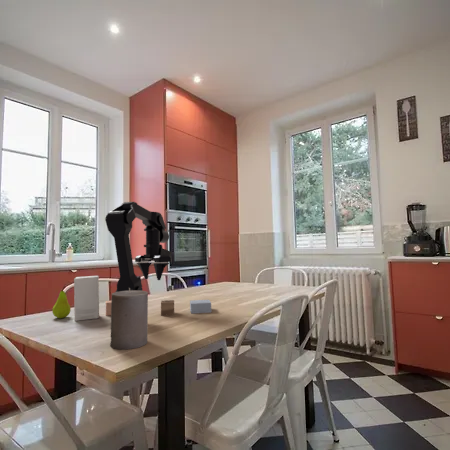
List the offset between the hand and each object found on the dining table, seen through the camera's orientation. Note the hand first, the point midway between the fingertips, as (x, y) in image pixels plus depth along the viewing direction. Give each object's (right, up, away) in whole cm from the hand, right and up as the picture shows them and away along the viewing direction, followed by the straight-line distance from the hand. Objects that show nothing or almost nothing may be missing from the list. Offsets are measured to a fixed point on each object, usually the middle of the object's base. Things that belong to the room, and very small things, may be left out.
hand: (152, 279), depth 127 cm
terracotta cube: (-15, -13, -5) cm, 20 cm away
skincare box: (-22, -13, -13) cm, 28 cm away
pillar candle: (+4, -10, -45) cm, 46 cm away
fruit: (-32, -13, -11) cm, 36 cm away
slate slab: (+20, -13, -3) cm, 24 cm away
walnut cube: (+8, -12, -8) cm, 17 cm away
